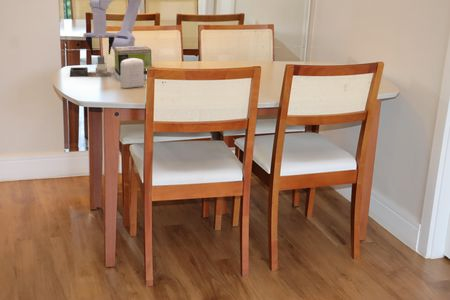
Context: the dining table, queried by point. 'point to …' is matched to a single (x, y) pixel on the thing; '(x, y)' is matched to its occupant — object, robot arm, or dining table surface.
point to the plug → (101, 63)
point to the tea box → (132, 52)
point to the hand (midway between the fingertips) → (100, 53)
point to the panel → (84, 72)
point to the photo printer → (132, 73)
